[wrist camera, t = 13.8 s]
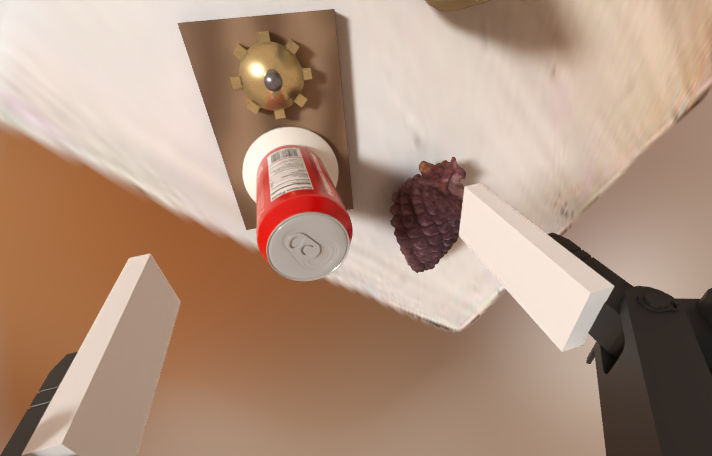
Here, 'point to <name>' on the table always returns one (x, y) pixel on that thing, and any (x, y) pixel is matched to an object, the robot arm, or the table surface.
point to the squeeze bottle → (453, 4)
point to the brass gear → (271, 75)
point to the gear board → (241, 126)
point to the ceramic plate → (281, 138)
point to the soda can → (300, 215)
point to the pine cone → (428, 213)
